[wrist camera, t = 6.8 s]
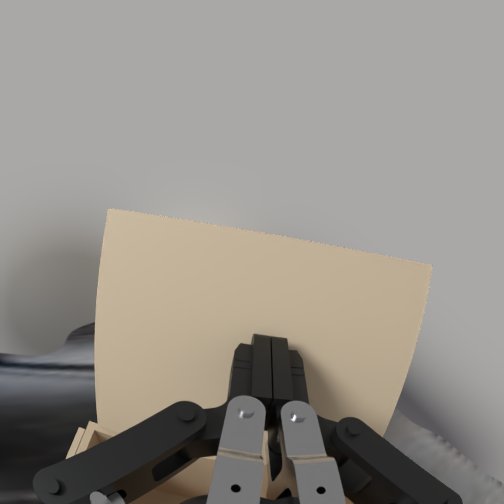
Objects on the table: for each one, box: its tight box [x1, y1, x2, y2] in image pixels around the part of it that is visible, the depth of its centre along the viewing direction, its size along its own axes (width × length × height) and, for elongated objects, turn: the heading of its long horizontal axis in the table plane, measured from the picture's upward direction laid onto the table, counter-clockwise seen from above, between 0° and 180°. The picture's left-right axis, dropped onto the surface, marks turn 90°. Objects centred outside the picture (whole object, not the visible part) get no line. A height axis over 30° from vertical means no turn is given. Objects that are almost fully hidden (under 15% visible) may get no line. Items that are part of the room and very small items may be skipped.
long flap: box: [95, 208, 433, 460], centre depth 13 cm, size 16×1×12 cm, turn 89°
